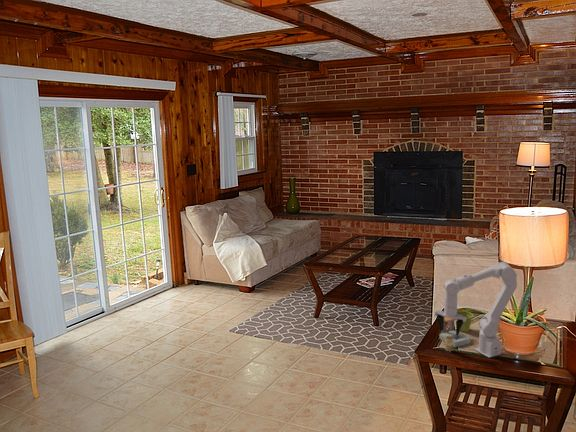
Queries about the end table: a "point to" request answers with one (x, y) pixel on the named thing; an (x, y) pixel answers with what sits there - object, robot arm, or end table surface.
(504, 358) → the end table surface
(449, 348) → the peg
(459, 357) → the end table surface
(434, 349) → the end table surface
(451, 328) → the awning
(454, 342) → the socket board
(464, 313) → the plant pot
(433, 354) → the end table surface
